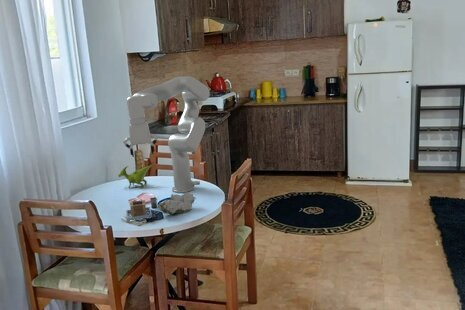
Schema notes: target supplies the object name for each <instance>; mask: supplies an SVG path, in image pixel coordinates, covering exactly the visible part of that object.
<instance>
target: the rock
mask: <svg viewBox="0 0 465 310" xmlns="http://www.w3.org/2000/svg"><path fill="white" fill-rule="evenodd" d="M194 202H195V196H194V194H193V193H191V192H183V194H181V195H179V194H173V193H172V194H171V195H170V199H169V200H167V199H164V201H162V202H160V203H158V204H157V208H159V211H160V212H162V214H165V215H166V214H167V215H170V216H171V215H174V214H179V213H181V214H186V213H187V212H189V211H190V210H192V208H193V205H192V204H193V203H194Z"/></svg>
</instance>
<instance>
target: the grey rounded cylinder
mask: <svg viewBox="0 0 465 310" xmlns="http://www.w3.org/2000/svg"><path fill="white" fill-rule="evenodd" d="M149 200H150V204H151V205H150V208H151V209H157V208H158V204H157V203H158V201H157V198H156V197H155V196H154V197H149Z"/></svg>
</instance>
